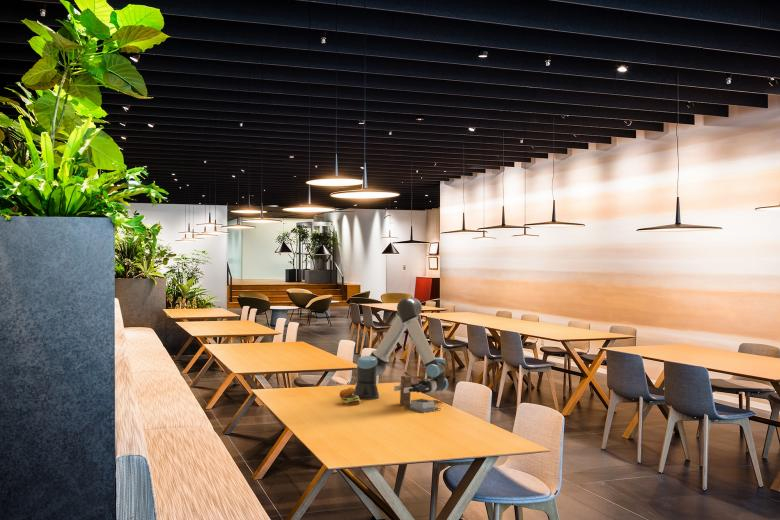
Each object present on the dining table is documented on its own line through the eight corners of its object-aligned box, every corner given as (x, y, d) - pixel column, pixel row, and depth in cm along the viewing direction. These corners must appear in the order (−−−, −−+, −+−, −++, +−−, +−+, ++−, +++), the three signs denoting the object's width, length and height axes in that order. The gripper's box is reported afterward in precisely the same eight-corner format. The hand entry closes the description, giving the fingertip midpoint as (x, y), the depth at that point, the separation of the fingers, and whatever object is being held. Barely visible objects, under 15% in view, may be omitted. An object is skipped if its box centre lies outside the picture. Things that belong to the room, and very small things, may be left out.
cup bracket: (404, 408, 362) (404, 400, 362) (421, 405, 372) (421, 397, 372) (423, 413, 352) (423, 404, 352) (440, 410, 362) (440, 401, 362)
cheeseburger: (360, 405, 363) (356, 387, 363) (341, 409, 363) (337, 391, 363) (361, 402, 373) (357, 384, 373) (342, 405, 373) (339, 388, 374)
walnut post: (399, 404, 372) (401, 375, 373) (404, 403, 375) (406, 375, 376) (405, 405, 369) (406, 376, 370) (409, 405, 372) (411, 376, 373)
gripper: (439, 395, 378) (412, 399, 362) (414, 390, 392) (386, 393, 376) (440, 381, 378) (412, 385, 362) (414, 377, 392) (387, 380, 376)
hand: (399, 389), depth 369 cm, fingers open, 7 cm apart
